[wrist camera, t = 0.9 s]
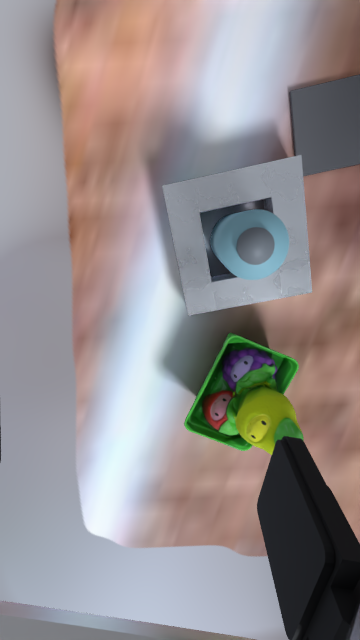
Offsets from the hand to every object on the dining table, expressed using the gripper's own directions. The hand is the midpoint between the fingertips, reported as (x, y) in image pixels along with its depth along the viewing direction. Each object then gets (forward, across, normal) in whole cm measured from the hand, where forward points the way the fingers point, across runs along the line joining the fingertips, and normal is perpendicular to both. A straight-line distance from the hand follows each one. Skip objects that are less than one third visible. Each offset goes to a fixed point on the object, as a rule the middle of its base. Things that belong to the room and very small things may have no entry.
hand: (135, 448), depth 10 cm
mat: (+24, -12, -18) cm, 32 cm away
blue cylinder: (+24, -5, -7) cm, 25 cm away
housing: (+24, -5, -7) cm, 25 cm away
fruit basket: (+24, -9, +8) cm, 27 cm away
